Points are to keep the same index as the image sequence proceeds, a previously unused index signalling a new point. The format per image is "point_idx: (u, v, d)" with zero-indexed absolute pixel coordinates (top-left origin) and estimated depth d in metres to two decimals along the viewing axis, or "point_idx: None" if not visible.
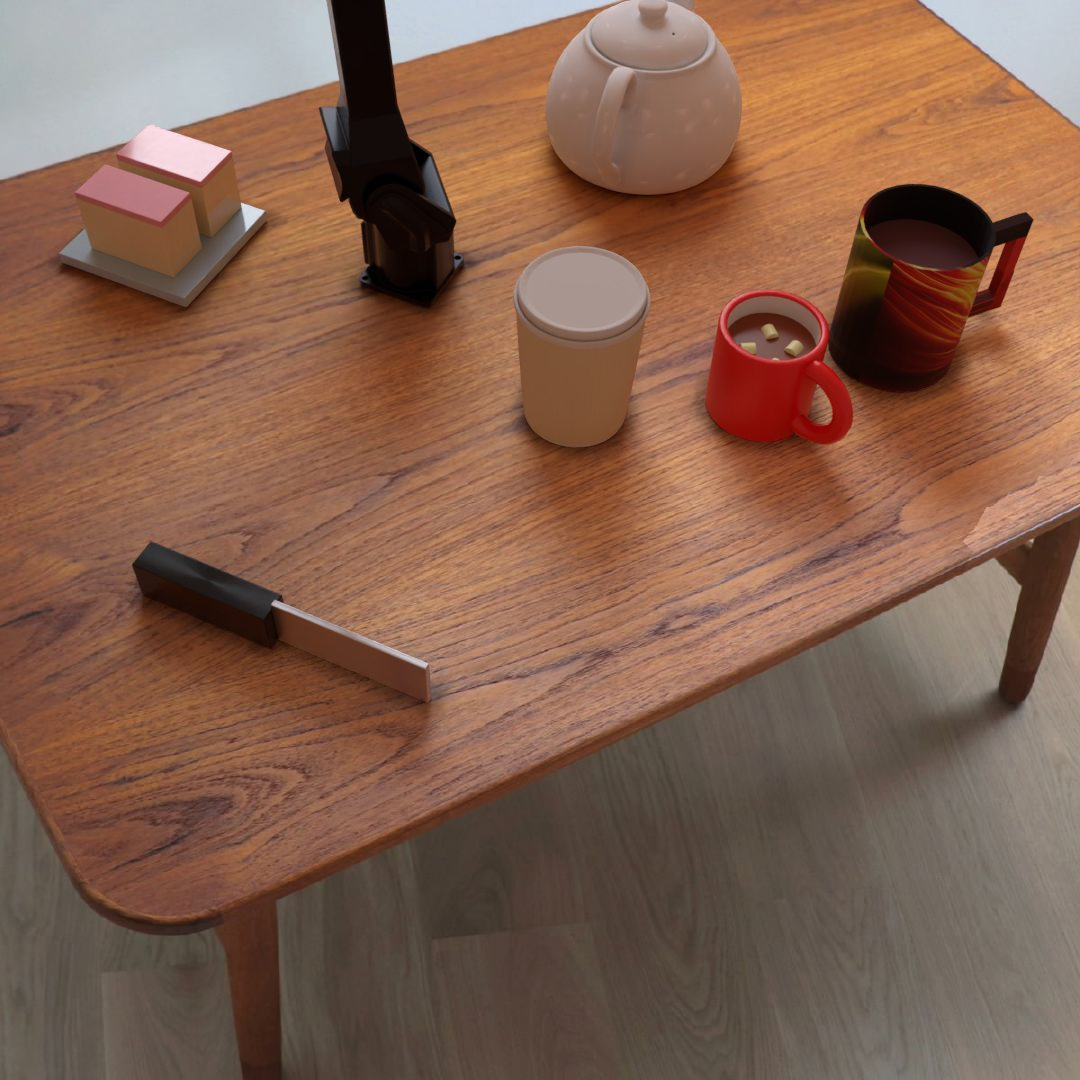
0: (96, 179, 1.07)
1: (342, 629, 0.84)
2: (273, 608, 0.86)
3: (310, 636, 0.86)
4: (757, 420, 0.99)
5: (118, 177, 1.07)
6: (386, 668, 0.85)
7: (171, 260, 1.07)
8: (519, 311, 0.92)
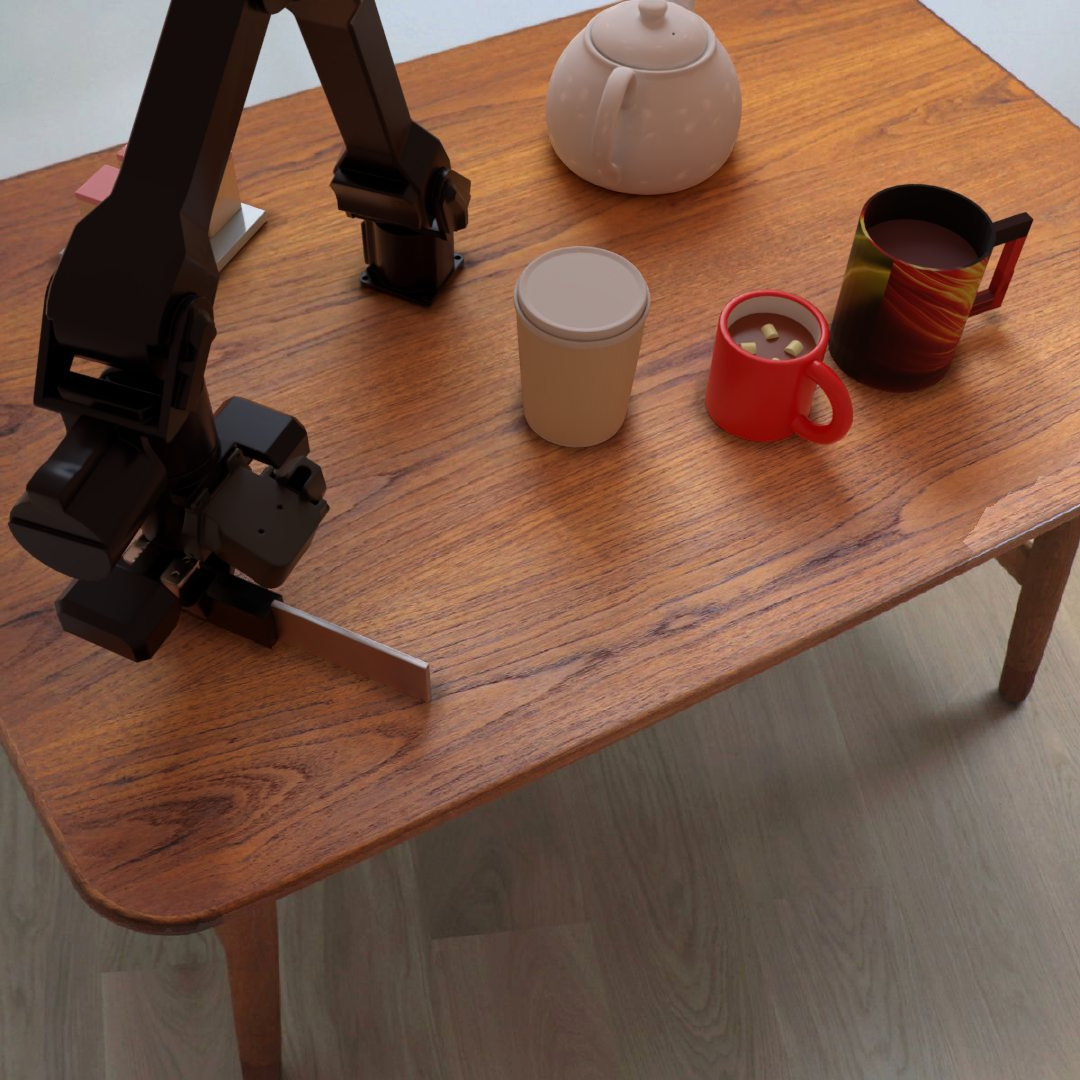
0: (96, 179, 1.07)
1: (342, 629, 0.84)
2: (273, 608, 0.86)
3: (310, 636, 0.86)
4: (757, 420, 0.99)
5: None
6: (386, 668, 0.85)
7: None
8: (519, 311, 0.92)
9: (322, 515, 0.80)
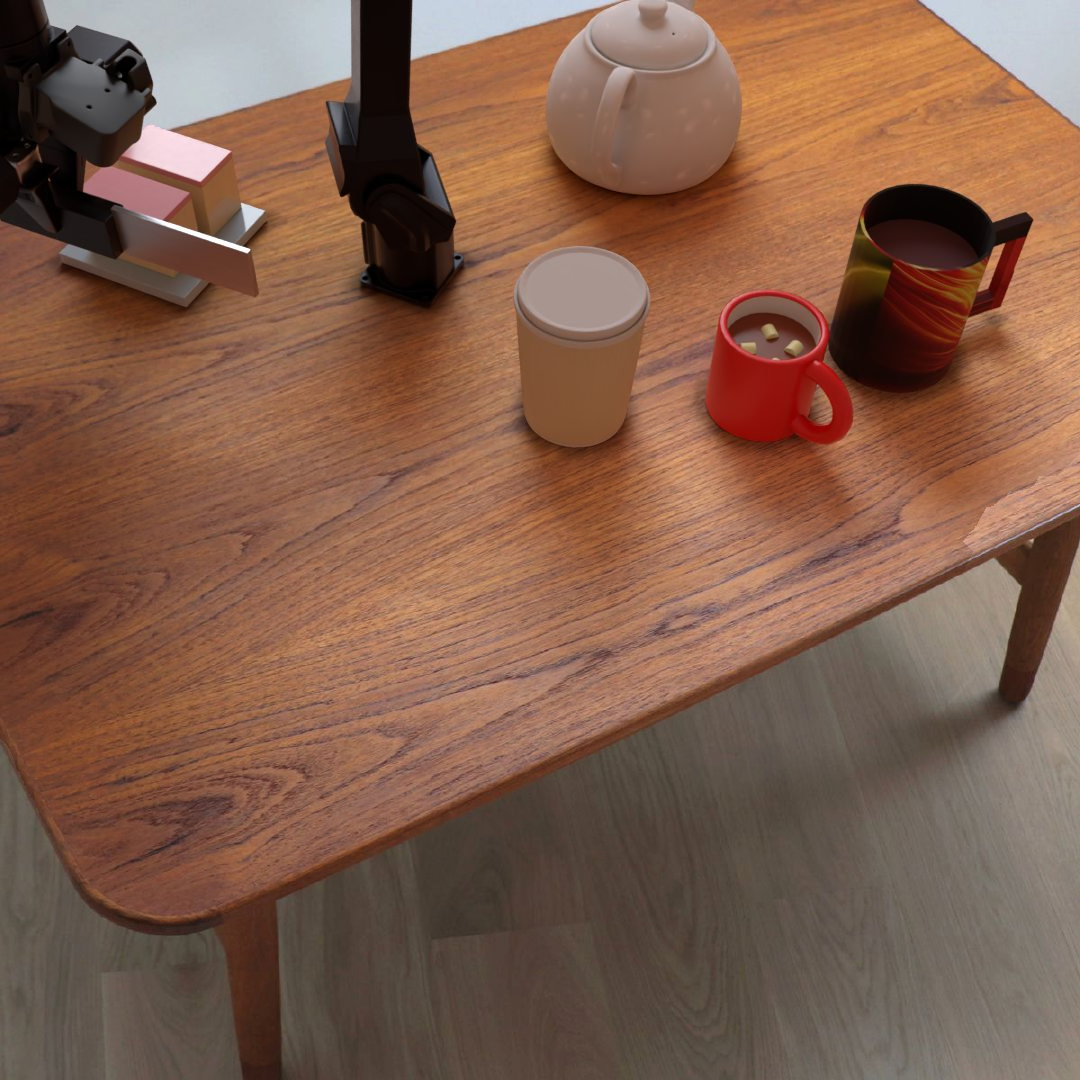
0: (96, 179, 1.07)
1: (174, 225, 0.94)
2: (113, 212, 0.95)
3: (148, 239, 0.95)
4: (757, 420, 0.99)
5: (118, 177, 1.07)
6: (215, 262, 0.94)
7: None
8: (519, 311, 0.92)
9: (148, 105, 0.90)
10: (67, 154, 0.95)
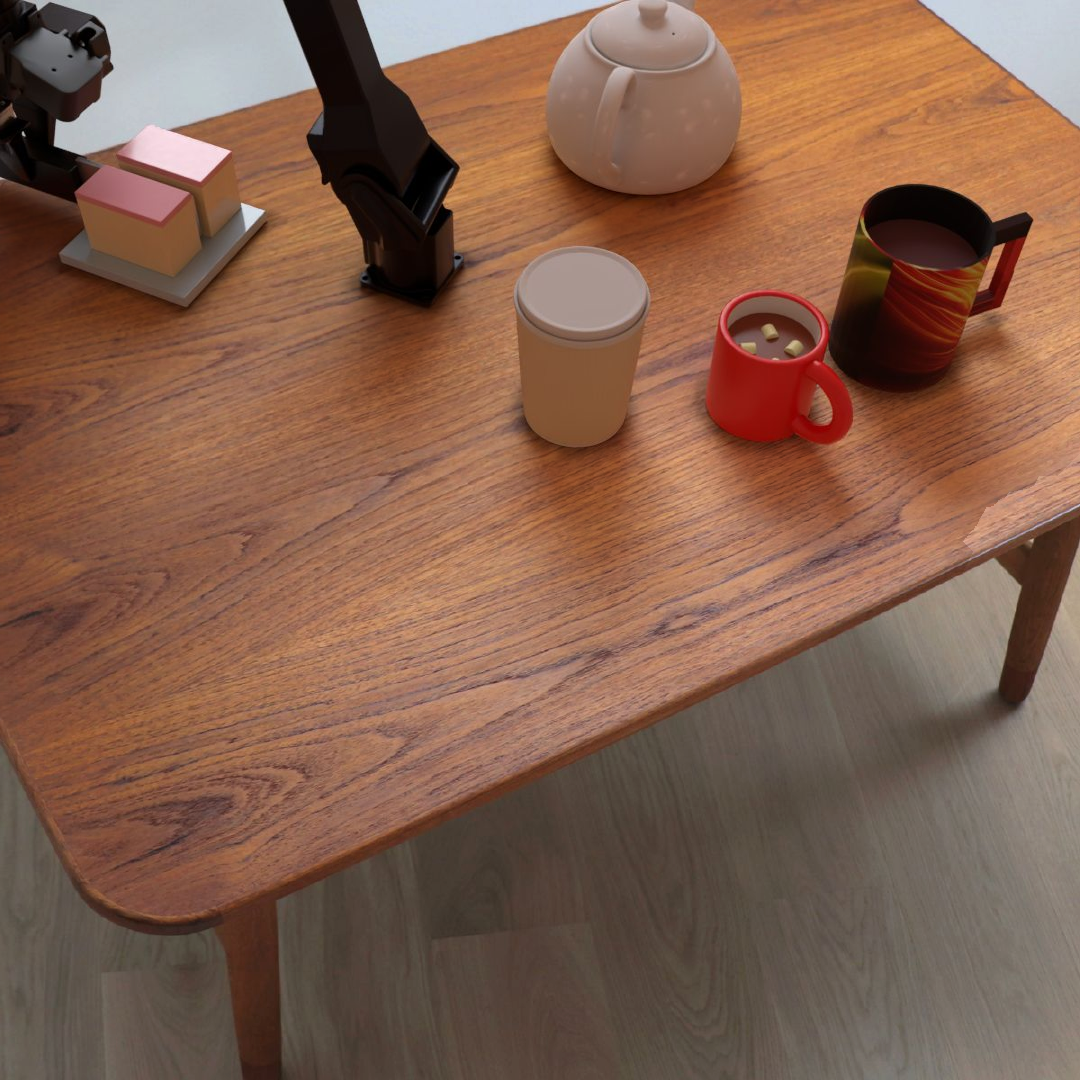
0: (96, 179, 1.07)
1: None
2: (77, 163, 1.10)
3: None
4: (757, 420, 0.99)
5: (118, 177, 1.07)
6: None
7: (171, 260, 1.07)
8: (519, 311, 0.92)
9: (106, 69, 1.05)
10: (39, 113, 1.10)
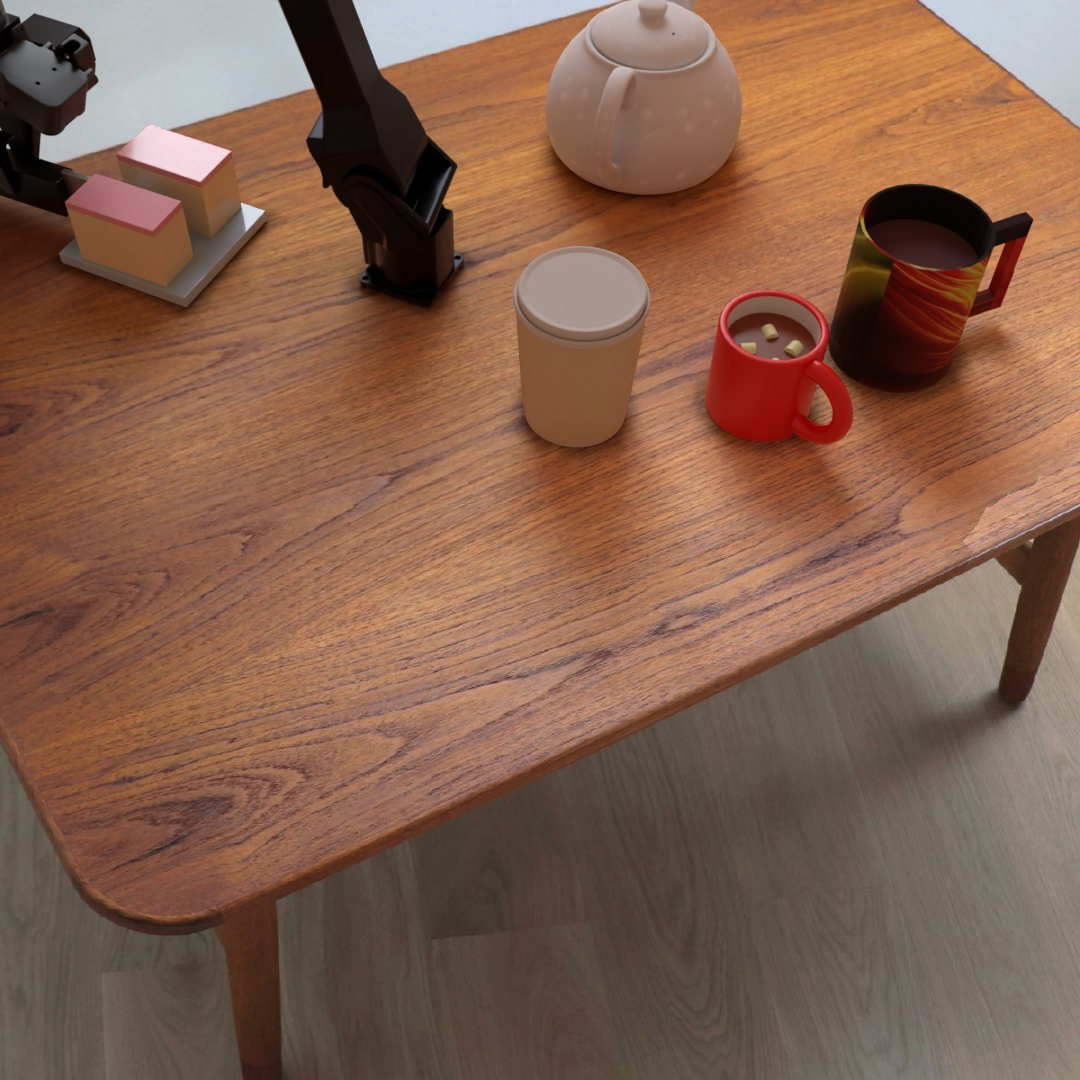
0: (86, 188, 1.06)
1: None
2: (63, 175, 1.09)
3: None
4: (757, 420, 0.99)
5: (108, 186, 1.06)
6: None
7: (163, 269, 1.06)
8: (519, 311, 0.92)
9: (91, 82, 1.04)
10: (24, 126, 1.09)
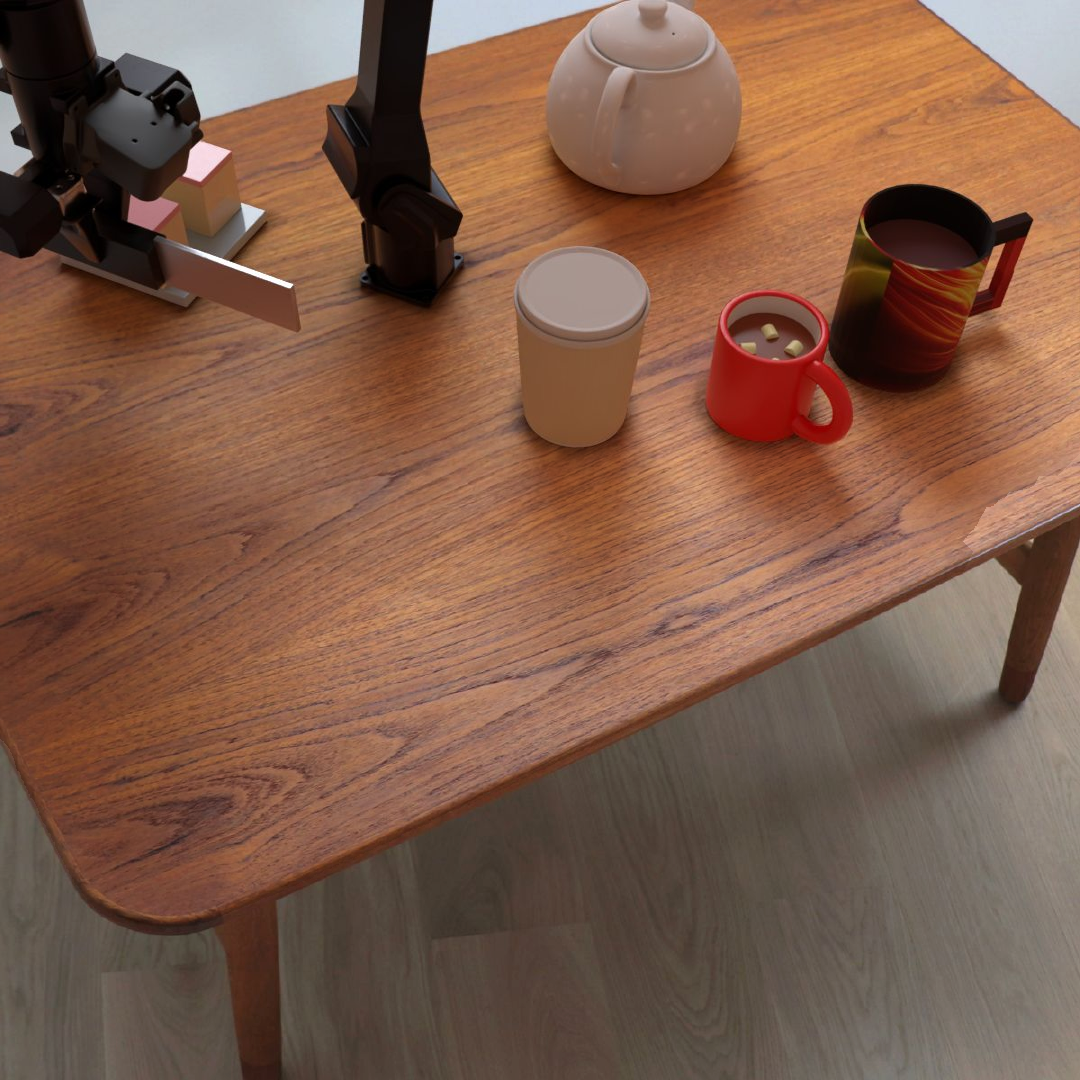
0: (85, 190, 1.06)
1: (217, 258, 0.92)
2: (156, 243, 0.93)
3: (190, 271, 0.94)
4: (757, 420, 0.99)
5: None
6: (258, 296, 0.92)
7: None
8: (519, 311, 0.92)
9: (195, 138, 0.88)
10: (112, 184, 0.93)
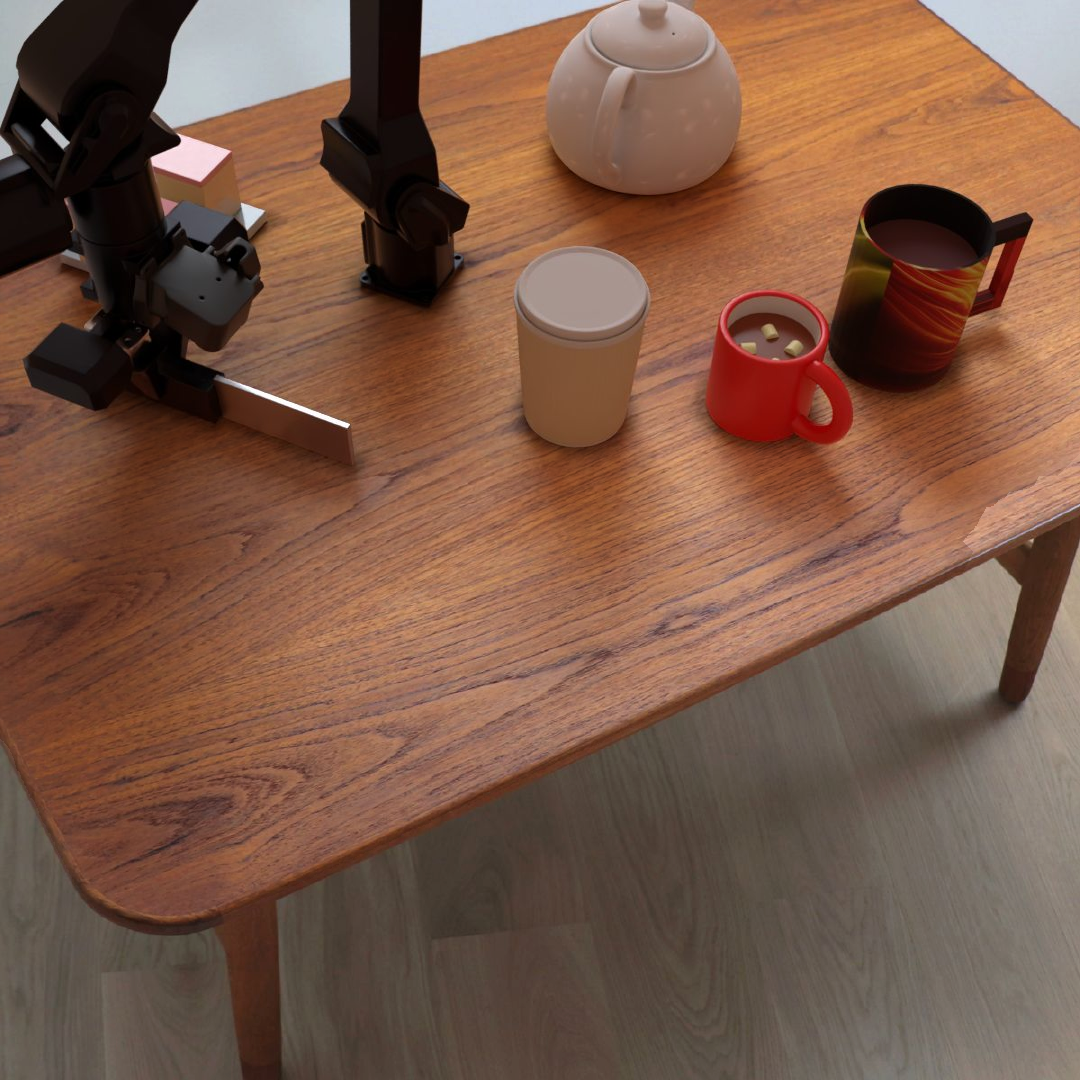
0: None
1: (275, 397, 0.96)
2: (216, 382, 0.97)
3: (248, 408, 0.98)
4: (757, 420, 0.99)
5: None
6: (314, 433, 0.97)
7: None
8: (519, 311, 0.92)
9: (256, 290, 0.92)
10: None
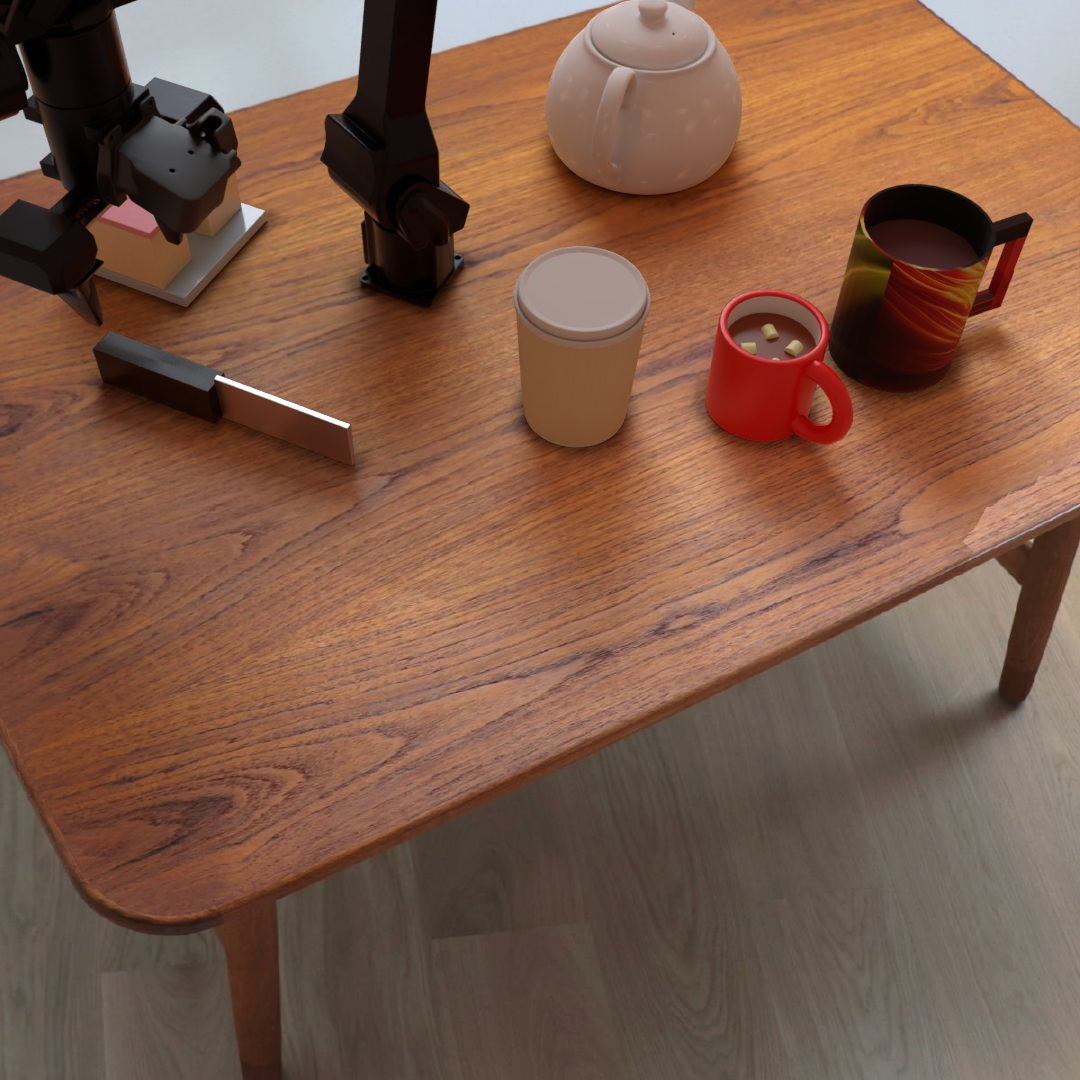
0: None
1: (275, 398, 0.96)
2: (216, 382, 0.97)
3: (248, 408, 0.98)
4: (757, 420, 0.99)
5: None
6: (315, 433, 0.97)
7: (160, 272, 1.06)
8: (519, 311, 0.92)
9: (233, 167, 0.84)
10: None
